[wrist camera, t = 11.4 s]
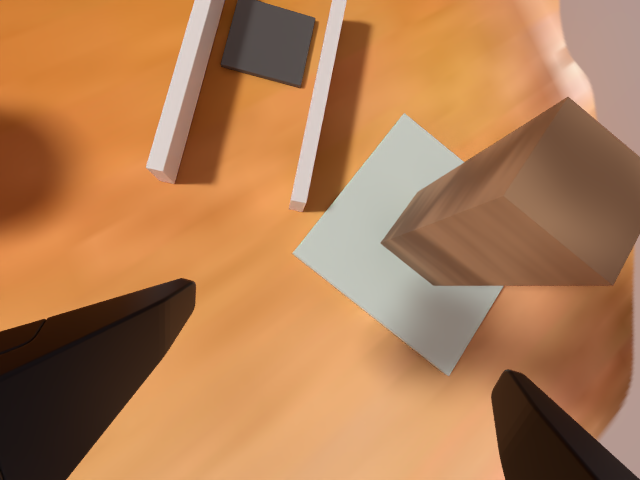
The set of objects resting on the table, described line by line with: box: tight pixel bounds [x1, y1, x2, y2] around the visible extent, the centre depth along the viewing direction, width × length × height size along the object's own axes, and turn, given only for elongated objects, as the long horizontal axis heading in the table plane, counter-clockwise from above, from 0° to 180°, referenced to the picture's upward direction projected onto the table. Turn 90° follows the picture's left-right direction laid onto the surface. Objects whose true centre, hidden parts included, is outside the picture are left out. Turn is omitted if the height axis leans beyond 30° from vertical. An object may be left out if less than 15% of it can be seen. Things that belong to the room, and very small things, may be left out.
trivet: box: [292, 113, 503, 376], centre depth 24 cm, size 14×14×1 cm
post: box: [380, 97, 640, 286], centre depth 18 cm, size 5×5×12 cm
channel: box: [146, 0, 347, 212], centre depth 23 cm, size 16×10×2 cm, turn 169°
